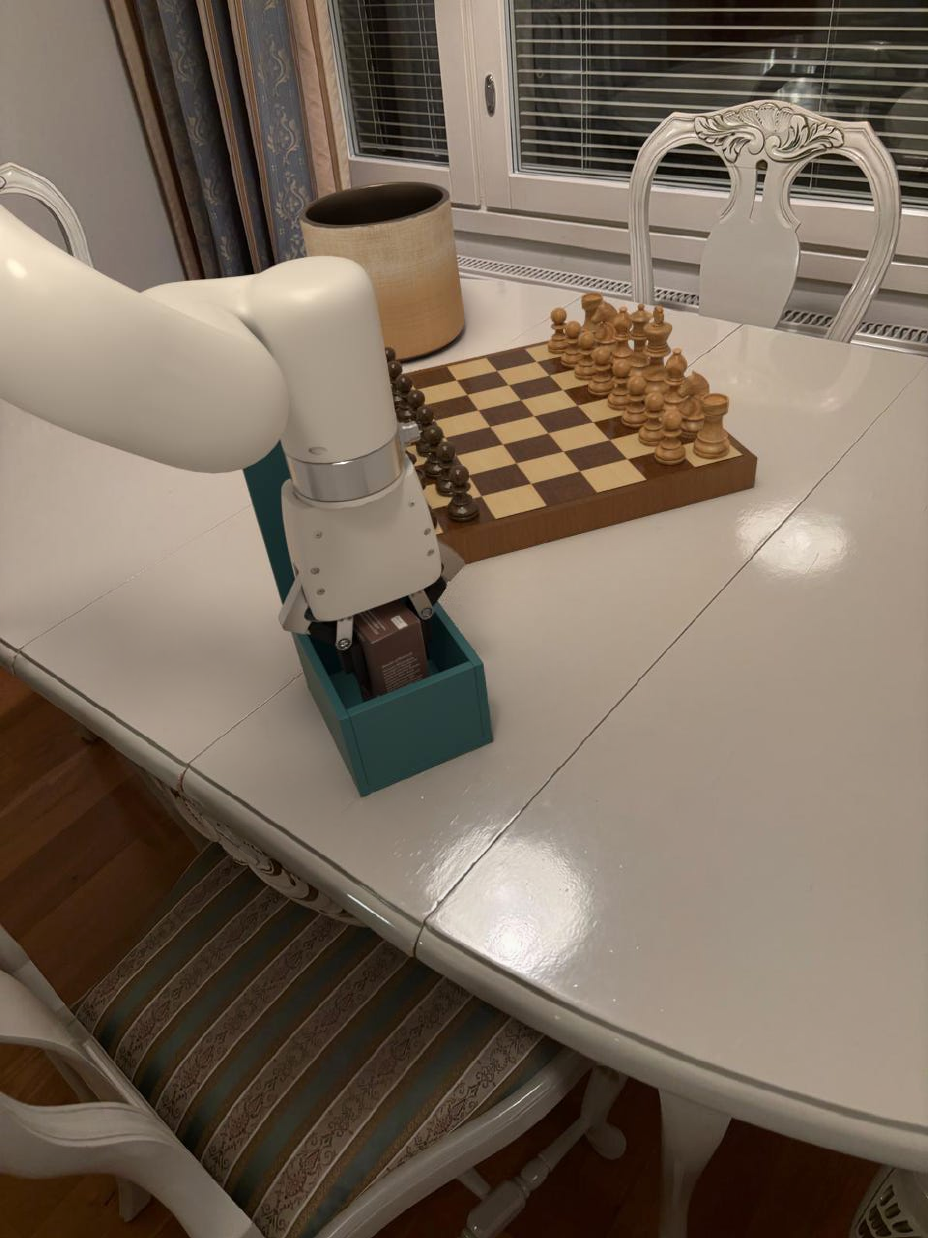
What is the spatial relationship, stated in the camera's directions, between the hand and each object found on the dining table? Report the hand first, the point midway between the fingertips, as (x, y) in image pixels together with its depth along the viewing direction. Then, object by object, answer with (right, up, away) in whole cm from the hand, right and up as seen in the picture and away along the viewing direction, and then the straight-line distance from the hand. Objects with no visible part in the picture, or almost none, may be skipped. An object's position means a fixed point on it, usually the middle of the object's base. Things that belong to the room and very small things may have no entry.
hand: (388, 660), depth 70 cm
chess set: (+13, +24, +39) cm, 47 cm away
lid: (-4, +12, 0) cm, 12 cm away
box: (+1, -5, +4) cm, 7 cm away
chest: (0, -5, +6) cm, 8 cm away
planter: (-5, +47, +69) cm, 84 cm away
